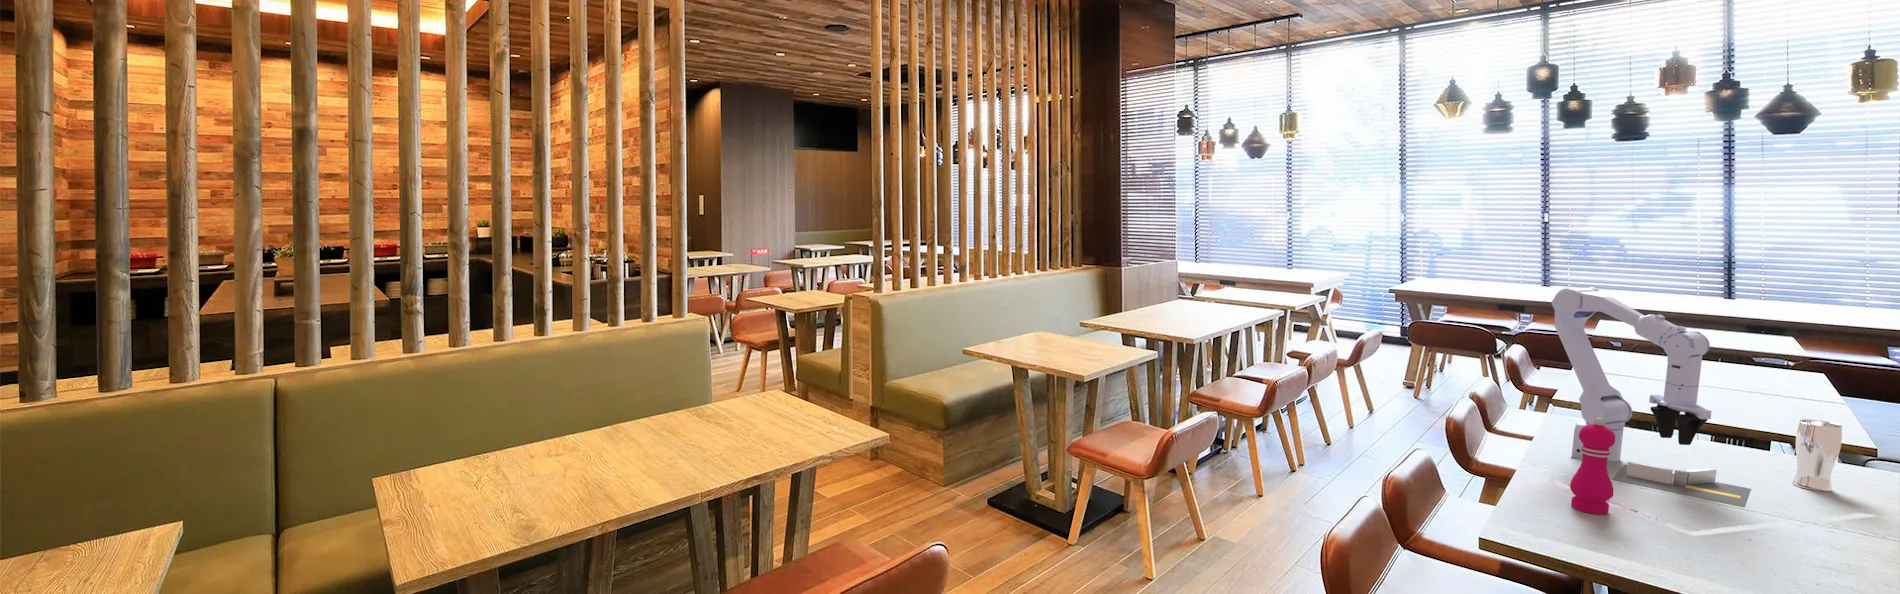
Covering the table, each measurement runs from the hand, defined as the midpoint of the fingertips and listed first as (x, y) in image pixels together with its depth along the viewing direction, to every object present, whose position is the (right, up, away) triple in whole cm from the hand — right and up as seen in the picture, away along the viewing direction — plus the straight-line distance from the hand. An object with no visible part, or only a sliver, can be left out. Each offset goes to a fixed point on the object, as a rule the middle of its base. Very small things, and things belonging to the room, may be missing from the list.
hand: (1675, 440), depth 187 cm
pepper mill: (-33, -12, -16) cm, 38 cm away
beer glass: (+28, -10, -3) cm, 30 cm away
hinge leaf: (+2, -9, -3) cm, 10 cm away
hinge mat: (-2, -10, -4) cm, 11 cm away
